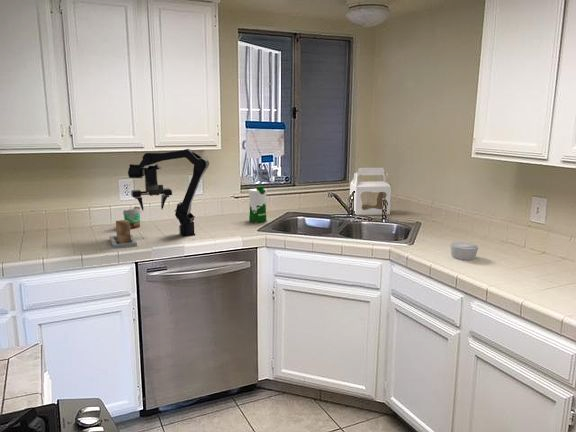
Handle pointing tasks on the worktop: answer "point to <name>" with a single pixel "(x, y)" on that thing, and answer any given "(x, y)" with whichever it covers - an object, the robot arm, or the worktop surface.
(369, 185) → the gable box
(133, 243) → the grey divided frame
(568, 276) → the worktop surface
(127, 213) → the food container
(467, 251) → the ramekin
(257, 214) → the milk carton
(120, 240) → the walnut block
